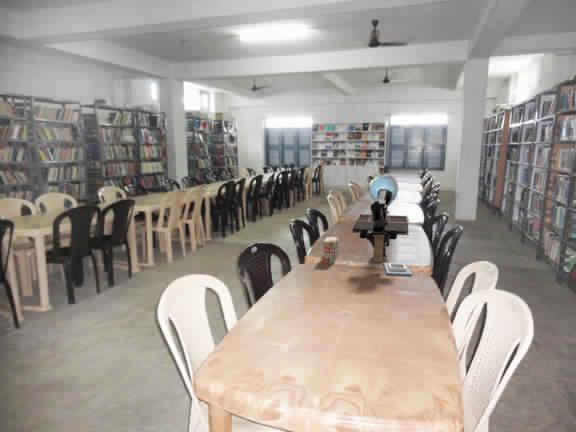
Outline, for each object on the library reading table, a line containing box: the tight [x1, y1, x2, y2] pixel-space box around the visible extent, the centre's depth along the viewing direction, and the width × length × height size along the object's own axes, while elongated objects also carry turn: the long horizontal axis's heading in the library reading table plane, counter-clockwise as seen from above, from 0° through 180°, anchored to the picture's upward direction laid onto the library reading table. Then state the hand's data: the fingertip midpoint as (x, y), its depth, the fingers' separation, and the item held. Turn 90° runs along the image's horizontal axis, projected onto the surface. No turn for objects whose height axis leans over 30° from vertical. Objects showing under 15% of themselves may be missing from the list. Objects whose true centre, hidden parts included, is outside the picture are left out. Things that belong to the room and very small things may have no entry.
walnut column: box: [372, 234, 384, 262], centre depth 200 cm, size 4×4×13 cm
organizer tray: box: [354, 212, 410, 233], centre depth 309 cm, size 32×40×10 cm
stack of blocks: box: [323, 236, 340, 264], centre depth 225 cm, size 21×6×12 cm, turn 167°
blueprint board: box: [383, 262, 413, 277], centre depth 203 cm, size 18×12×2 cm, turn 172°
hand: (378, 248), depth 198 cm, fingers closed on walnut column, 4 cm apart
